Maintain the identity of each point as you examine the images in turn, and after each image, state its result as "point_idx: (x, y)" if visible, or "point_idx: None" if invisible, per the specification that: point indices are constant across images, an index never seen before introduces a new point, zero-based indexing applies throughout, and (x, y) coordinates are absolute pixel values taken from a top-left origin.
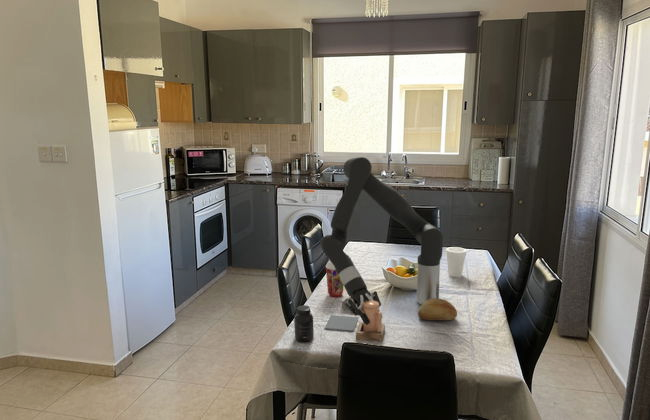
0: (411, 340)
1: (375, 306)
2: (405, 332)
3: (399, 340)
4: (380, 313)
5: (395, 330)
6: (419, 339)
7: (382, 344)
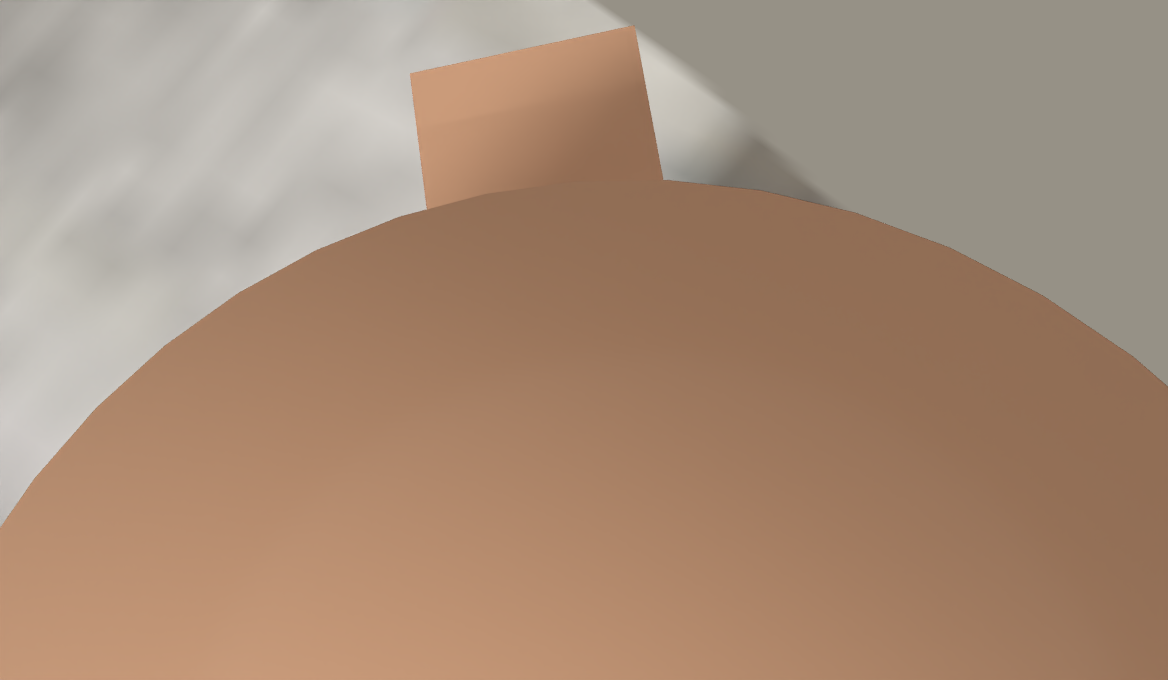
0: (157, 32)
1: (599, 191)
2: (14, 352)
3: (338, 127)
4: (499, 76)
5: None
6: (19, 3)
7: (734, 136)
